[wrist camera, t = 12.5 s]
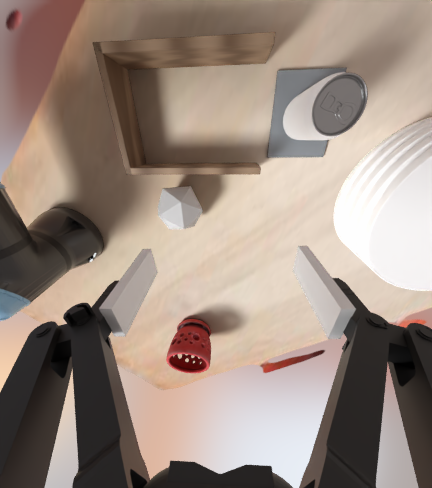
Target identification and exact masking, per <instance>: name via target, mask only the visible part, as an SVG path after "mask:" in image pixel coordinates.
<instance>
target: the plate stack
mask: <svg viewBox="0 0 432 488" xmlns="http://www.w3.org/2000/svg"><path fill="white" fill-rule="evenodd" d="M334 225H335V229H336V232H337V235H338V236H339V238H340V240H341V241H342V242H343V243H344V244H345V245H346V246H347V247H348V248H349V249H350V250H351V251H352V252H353V253H355V254H356V255H357V256H358V257H359V258H360V259H361V260H362V261H363V262H364V263H365V264H366V265H367V266H368V267H369V268H371V269H372V270H373V271H374V272H375V273H376V274H377V275H378V276H379V277H380V278H382V279H383V280H384V281H386V282H388V283H390V284H392V285H394V286H397V287H400V288H404V289H410V290H419V291H432V117H429V118H426V119H423V120H420V121H418V122H415V123H413V124H411V125H409V126H407V127H405V128H403V129H401V130H399V131H397V132H396V133H394V134H392V135H391V136H389V137H388V138H386V139H385V140H383V141H382V142H381V143H379V144H378V145H377V146H376V147H375V148H373V149H372V150H371V151H370V152H369V153H368V154H367V155H366V156H365V157H364V158H363V159H362V160H361V161H360V162H359V163H358V164H357V165H356V167H355V168H354V169H353V170H352V172H351V173H350V174H349V176H348V177H347V179H346V181H345V182H344V184H343V186H342V188H341V190H340V192H339V195H338V197H337V200H336V204H335V209H334Z"/></svg>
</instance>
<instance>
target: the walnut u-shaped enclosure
mask: <svg viewBox="0 0 432 488" xmlns="http://www.w3.org/2000/svg"><path fill="white" fill-rule="evenodd" d="M274 39H275V32H266V33H249V34H232V35H214V36H197V37H180V38H162V39H145V40H128V41H110V42H93V46H94V50H95V54H96V58H97V62H98V66H99V70H100V74H101V78H102V82H103V85H104V89H105V93H106V97H107V101H108V105H109V109H110V113H111V117H112V121H113V125H114V128H115V132H116V136H117V140H118V144H119V148H120V152H121V156H122V160H123V164H124V168H125V171H126V174H260V171H261V167H260V166H259V165H258V164H257V163H175V164H146V161H145V156H144V151H143V146H142V141H141V136H140V131H139V126H138V121H137V115H136V110H135V105H134V100H133V95H132V90H131V85H130V80H129V75H128V70H130V69H152V68H174V67H196V66H218V65H240V64H262V63H266V61H267V58H268V56H269V54H270V52H271V50H272V47H273V45H274Z"/></svg>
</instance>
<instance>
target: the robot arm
mask: <svg viewBox="0 0 432 488" xmlns="http://www.w3.org/2000/svg"><path fill="white" fill-rule="evenodd" d="M5 188H6V187H5V186H4V185H2V184H1V182H0V321H3V320H6V319H8V318H10V317H12V316H13V315H14V314H16V313H17V312H18V311H20V310H21V309H23V308H24V307H25V306H28V305H29V304H30V303H31V302H32V301H33V300H34V299H36V298H37V297H38V296H39V295H40V294H42V293H43V292H44V291H45V290H46V289H48V288H49V287H50V286H51V285H52V284H54V283H55V282H56V281H57V280H58V279H60V278H61V277H62V276H63V275H64V274H66V273H67V272H68V271H69V270H71V269H74V268H76V267H79V266H81V265H84V264H86V263H89V262H91V261H93V260H94V259H95V258H96V257H97V256H99V255H100V253H101V252H102V250H103V239H102V236H101V234H100V232H99V230H98V229H97V228H96V226H95V225H94V224H93V223H92V222H91V221H90V220H89V219H88V218H86V217H85V216H83V215H82V214H80V213H78V212H76V211H74V210H71V209H67V208H54V209H51V210H49V211H46V212H44V213H42V214H41V215H39V216H38V217H37V218H36V219H35V220H34V221H33V222H32V223H31V224H30V225H29V226H28V227H27V228H26V226H25V224H24V223H23V221H22V219H21V217H20V215H19V214H18V212H17V210H16V208H15V206H14V205H13V203H12V201H11V199H10V197H9V196H8V194H7V192H6V190H5ZM293 272H294V274H295V276H296V278H297V280H298V282H299V284H300V286H301V288H302V290H303V292H304V293H305V295H306V297H307V299H308V301H309V303H310V305H311V307H312V309H313V311H314V313H315V315H316V317H317V319H318V321H319V323H320V324H321V326H322V328H323V330H324V332H325V334H326V336H327V338H328V339H340V338H341V337H342V335H343V333H344V334H345V336H346V337H347V341H346V342H345V344H344V346H343V348H342V349H343V352H342V356H341V359H340V362H339V366H338V369H337V372H336V376H335V379H334V382H333V385H332V389H331V392H330V395H329V398H328V402H327V405H326V408H325V412H324V415H323V418H322V421H321V425H320V428H319V432H318V435H317V438H316V441H315V444H314V448H313V451H312V454H311V458H310V461H309V463H308V466H307V468H306V470H305V473H304V475H303V478H302V481H301V484H300V487H299V488H376V473H377V463H378V452H379V442H380V433H381V423H382V412H383V403H384V393H385V382H386V372H387V362H388V364H389V369H390V373H391V377H392V380H393V385H394V389H395V393H396V397H397V401H398V405H399V409H400V413H401V417H402V421H403V426H404V430H405V433H406V438H407V441H408V446H409V450H410V454H411V458H412V462H413V466H414V470H415V474H416V478H417V482H418V486H419V488H432V329H431V328H429V327H427V326H424V325H422V324H418V323H410V324H409V325H408V326H407V328H404V327H400V326H396V325H392V324H389V323H388V322H387V321H386V320H385V319H383V318H382V317H380V316H379V315H377V314H374V313H371V312H370V311H369V310H368V309H367V308H366V307H365V305H364V304H363V303H362V302H361V301H360V300H359V298H358V297H357V296H356V295H355V294H354V292H353V291H352V290H351V289H350V288H349V286H348V285H347V284H346V283H345V282H343V281H342V280H340V279H339V278H332V277H331V276H330V275H329V273H328V272H327V271H326V269H325V268H324V267H323V266H322V264H321V263H320V262H319V260H318V259H317V258H316V256H315V255H314V254H313V253H312V251H311V250H310V249H309V247H308V246H298V250H297V254H296V259H295V263H294V268H293ZM156 274H157V269H156V265H155V262H154V258H153V254H152V251H151V249H143V250H142V251H141V252H140V254H139V255H138V256H137V258H136V259H135V260H134V262H133V263H132V264H131V266H130V267H129V269H128V270H127V271H126V273H125V274H124V275H123V277H122V278H121V279H120V281H114V282H113V283H111V284H110V285H109V286H108V287H107V289H106V290H105V292H103V294H102V295H101V296H100V297H99V299H98V300H97V301H96V303H95V304H94V305H93V306H92V308H91V307H90V305H89V304H88V303H80V304H77V305H75V306H73V307H71V308H70V309H69V310H68V311H67V312H66V313H65V314H64V317H63V318H64V320H65V321H66V322H67V324H64V325H60V326H58V325H57V324H56V323H55V322H52V321H51V322H46V323H44V324H42V325H40V326H39V327H37V328H35V329H34V330H33V331H32V332H31V333H30V335H29V336H28V338H27V340H26V342H25V344H24V346H23V348H22V350H21V352H20V354H19V356H18V358H17V360H16V362H15V364H14V366H13V368H12V370H11V372H10V374H9V376H8V378H7V380H6V382H5V384H4V386H3V388H2V390H1V392H0V488H44V486H45V482H46V478H47V474H48V470H49V465H50V460H51V457H52V452H53V448H54V444H55V440H56V435H57V431H58V426H59V423H60V418H61V414H62V410H63V405H64V401H65V397H66V392H67V388H68V383H69V380H70V375H71V371H72V367H73V383H74V396H75V397H74V399H75V412H76V413H75V414H76V431H77V446H78V460H79V461H78V462H79V469H78V473H77V474H76V476H75V478H74V481H73V488H293V487H292V486H291V485H290V484H289V483H287V482H286V481H285V480H284V479H283V478H281V477H279V476H278V475H277V474H275V473H273V472H272V467H271V466H259V465H244V466H242V467H239V468H236V469H234V470H231V471H228V472H226V473H223V474H218V473H216V472H214V471H212V470H209V469H207V468H206V467H203V466H201V465H199V464H197V463H195V462H184V461H170V466H169V468H166V469H164V470H163V471H161V472H159V473H158V474H157V475H155V476H154V477H153V478H152V479H151V480H150V478H149V474H148V471H147V468H146V465H145V462H144V460H143V458H142V456H141V453H140V450H139V446H138V442H137V439H136V435H135V431H134V428H133V424H132V420H131V417H130V413H129V409H128V405H127V401H126V398H125V394H124V390H123V386H122V382H121V379H120V375H119V371H118V368H117V364H116V360H115V356H114V352H113V349H112V345H111V341H110V338H109V337H108V336H109V335H110V333H111V331H112V333H113V334H114V336H126V334H127V332H128V330H129V328H130V326H131V324H132V322H133V320H134V318H135V316H136V314H137V312H138V310H139V308H140V306H141V304H142V302H143V300H144V298H145V296H146V294H147V292H148V290H149V288H150V286H151V284H152V282H153V280H154V278H155V276H156Z"/></svg>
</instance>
